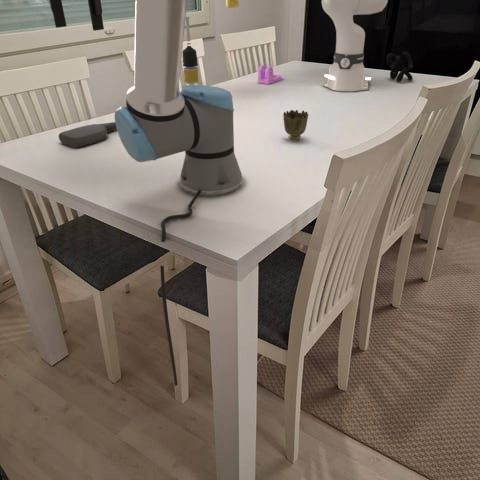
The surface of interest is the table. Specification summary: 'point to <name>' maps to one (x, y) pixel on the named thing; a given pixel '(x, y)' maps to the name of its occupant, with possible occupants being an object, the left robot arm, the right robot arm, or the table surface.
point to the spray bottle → (86, 134)
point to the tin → (232, 3)
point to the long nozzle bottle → (190, 60)
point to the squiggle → (399, 66)
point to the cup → (295, 123)
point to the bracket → (267, 75)
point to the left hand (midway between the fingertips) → (79, 28)
